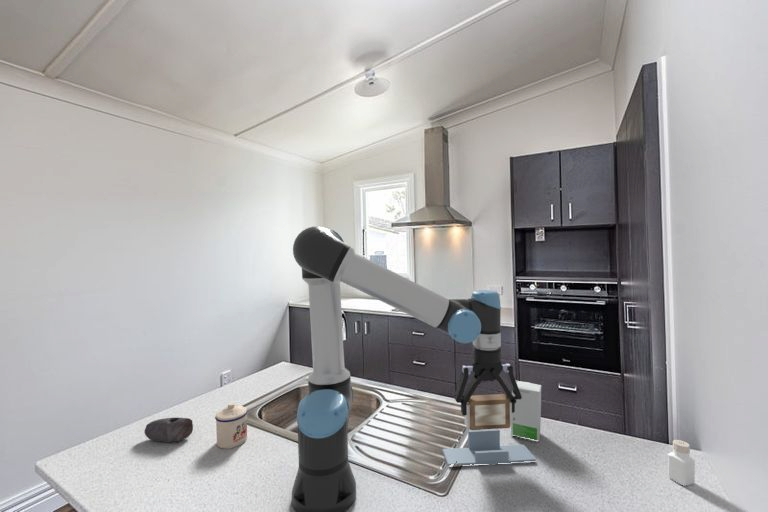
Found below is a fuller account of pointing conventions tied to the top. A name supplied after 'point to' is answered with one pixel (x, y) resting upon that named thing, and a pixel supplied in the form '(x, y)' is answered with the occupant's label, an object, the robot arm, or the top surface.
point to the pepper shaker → (681, 463)
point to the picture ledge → (486, 450)
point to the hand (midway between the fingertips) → (488, 424)
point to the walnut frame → (489, 412)
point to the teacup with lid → (231, 426)
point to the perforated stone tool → (169, 429)
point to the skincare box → (527, 411)
